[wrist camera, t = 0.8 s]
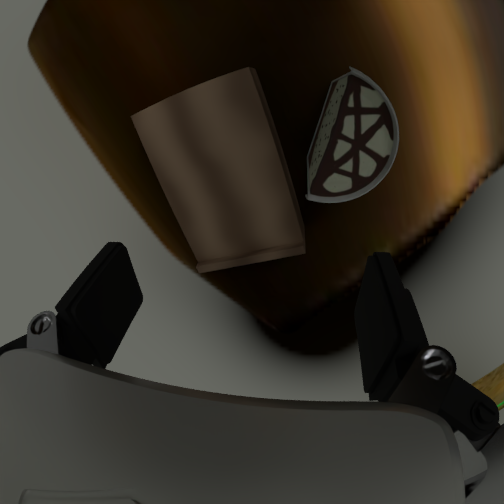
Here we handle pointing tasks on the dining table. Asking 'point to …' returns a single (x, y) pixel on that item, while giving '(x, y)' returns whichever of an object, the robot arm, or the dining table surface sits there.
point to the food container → (351, 140)
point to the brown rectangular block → (224, 172)
